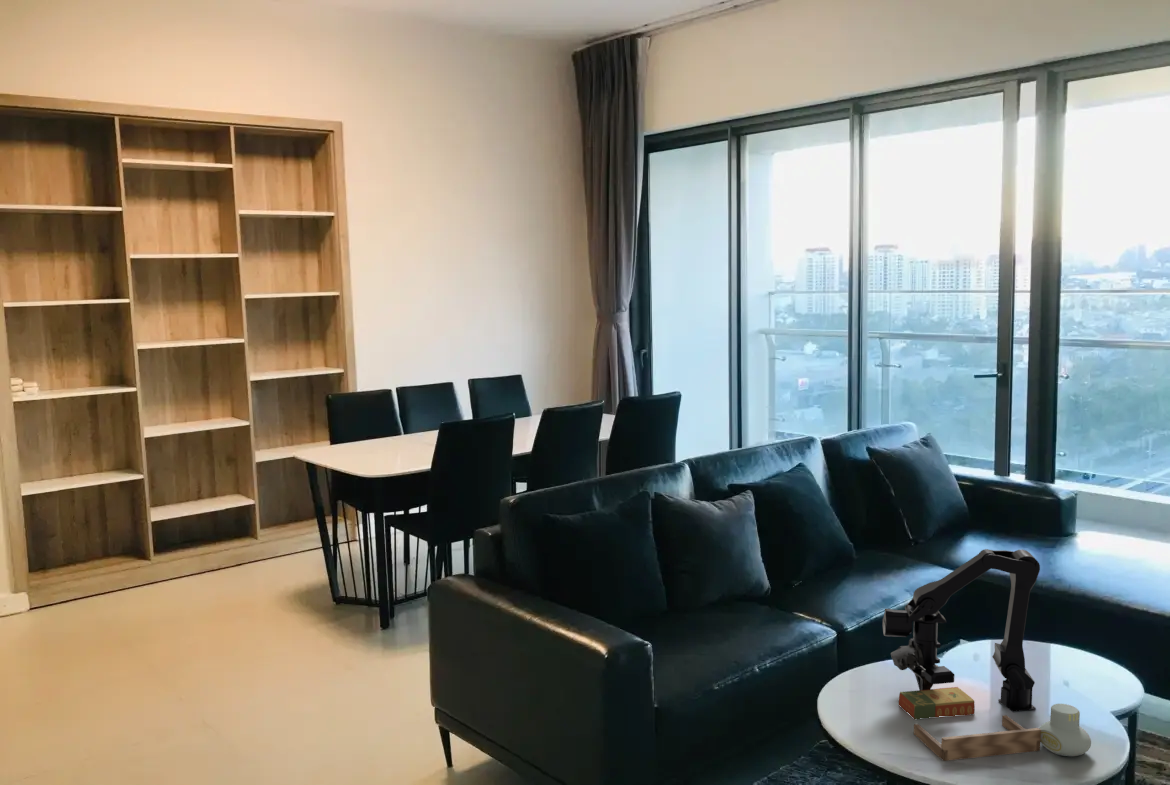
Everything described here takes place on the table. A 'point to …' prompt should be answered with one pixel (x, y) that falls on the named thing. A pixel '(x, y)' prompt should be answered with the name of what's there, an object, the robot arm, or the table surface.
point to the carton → (936, 702)
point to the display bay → (983, 742)
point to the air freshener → (1065, 732)
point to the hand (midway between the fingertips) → (923, 696)
